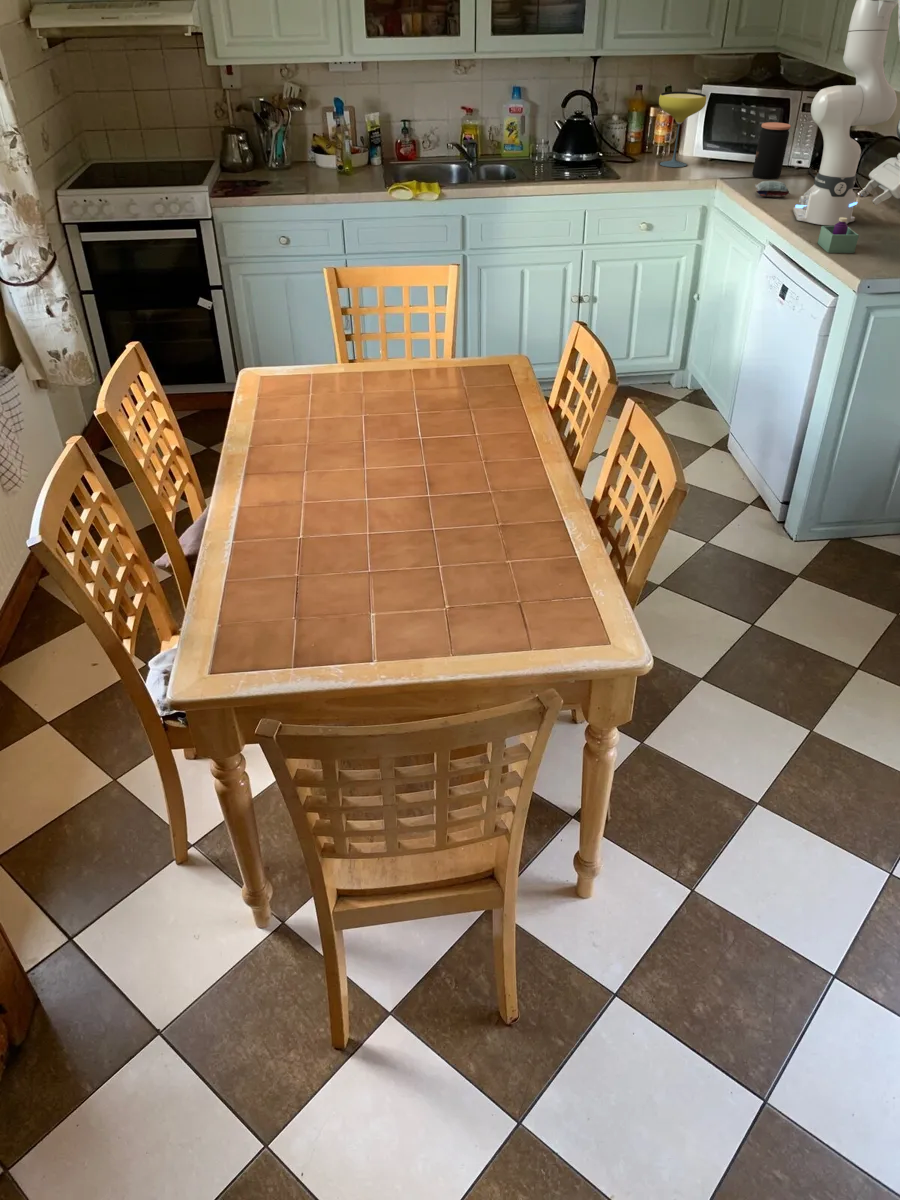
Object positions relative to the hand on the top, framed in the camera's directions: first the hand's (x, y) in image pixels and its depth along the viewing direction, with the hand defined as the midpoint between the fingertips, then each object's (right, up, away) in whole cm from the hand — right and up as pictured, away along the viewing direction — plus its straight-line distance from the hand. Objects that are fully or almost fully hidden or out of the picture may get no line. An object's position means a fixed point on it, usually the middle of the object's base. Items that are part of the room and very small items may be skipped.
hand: (867, 199), depth 259 cm
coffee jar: (+1, +47, +85) cm, 97 cm away
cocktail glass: (-31, +60, +102) cm, 123 cm away
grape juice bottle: (-6, -11, +8) cm, 15 cm away
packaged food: (-7, +28, +61) cm, 67 cm away
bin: (-6, -11, +8) cm, 15 cm away
